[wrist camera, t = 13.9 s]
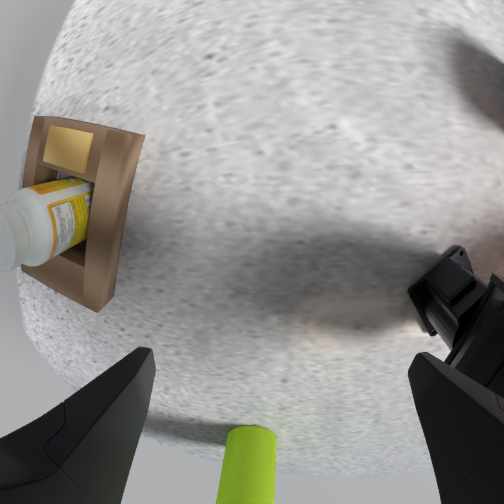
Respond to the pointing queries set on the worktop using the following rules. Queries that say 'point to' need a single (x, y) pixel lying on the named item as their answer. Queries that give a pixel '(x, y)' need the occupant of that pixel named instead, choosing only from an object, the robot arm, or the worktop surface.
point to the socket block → (102, 208)
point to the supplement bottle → (44, 221)
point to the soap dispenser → (248, 467)
